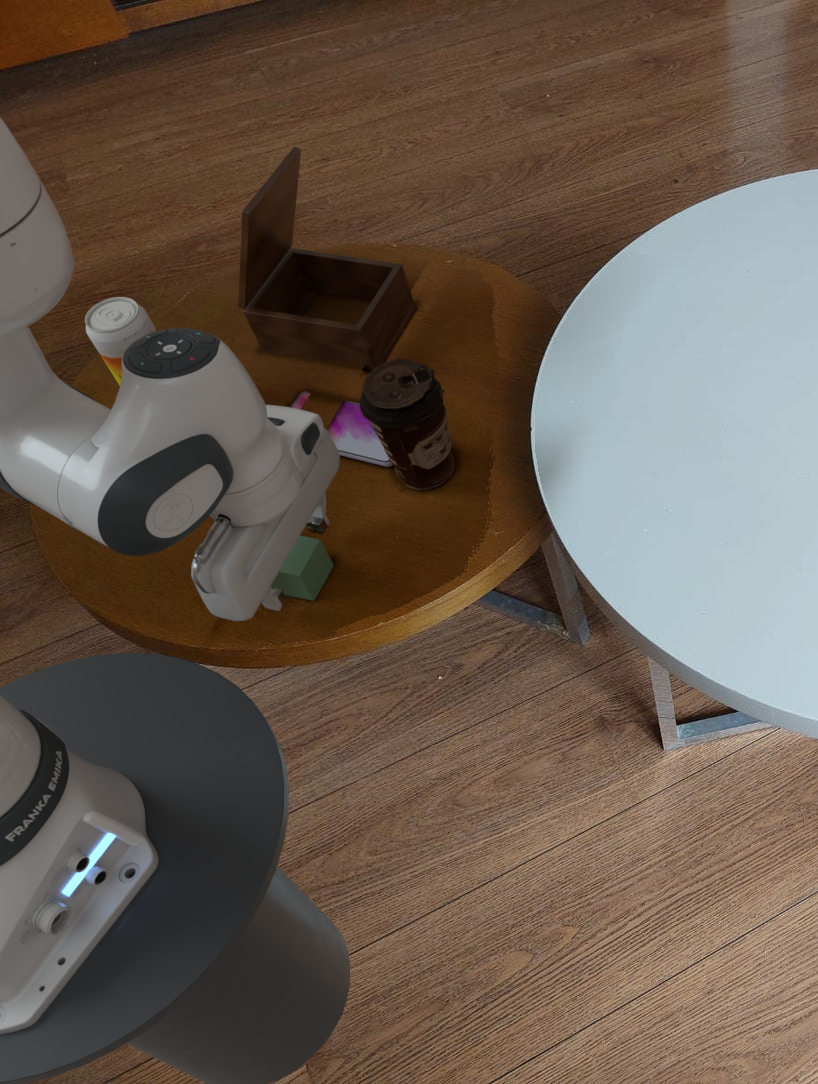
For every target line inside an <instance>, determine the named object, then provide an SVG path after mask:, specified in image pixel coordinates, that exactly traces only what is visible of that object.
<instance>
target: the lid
mask: <svg viewBox="0 0 818 1084" xmlns="http://www.w3.org/2000/svg"><path fill="white" fill-rule="evenodd" d="M301 155H302V149H301V148H299V147H298V146H295V145H294V146H293V147H292V148H291V150H290V151H289V152H288V153H287V154H286V156H285V157H284V158H283V160H281V162H280V163H279V165H277V167H276V168H275V169H274V171H273V172H272V173H271V175H270V176H269V177H268V178H267V179H266V180H265V182H264V183H263V184H262V185H261V187H260V188H259V189H258V190H257V192H256V193H255V195H254V196H253V197H252V198H251V199H250V201H249V202H248V203H247V204H246V205H245V207H244V208H243V209H242V210H241V225H240V227H241V228H240V229H241V230H240V251H239V253H240V254H239V273H238V274H239V277H238V297H237V298H238V301H237V302H238V303H237V307H238V308H240V309H242V310H243V311H244V310H245V309H246V307H247V306H248V305H249V303H250V302H251V300H252V299H253V298H254V296H255V295H256V294H257V292H258V291H259V290H260V288H261V287H262V286H263V284H264V283H265V282H266V280H267V279H268V278H269V276H270V275H271V274H272V272H273V271H274V269H275V268H276V267H277V265H278V264H279V263H280V261H281V260H282V259H283V257H284V256H285V255H286V253H287V252H288V251H289V249H290V248H293V239H294V229H295V219H296V207H297V197H298V187H299V177H300V167H301V166H300V165H301Z"/></svg>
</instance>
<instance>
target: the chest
mask: <svg viewBox="0 0 818 1084" xmlns="http://www.w3.org/2000/svg"><path fill="white" fill-rule="evenodd" d="M317 294H324V295H335V296H344V297H354V298H363V299H372V300H371V302H370V303H369V305H368V306H367V308H366V309H365V311H364V312H363V314H362V316H361V317H360V319H359V320H358V321H357V324H354V323H349V322H342V321H336V320H329V319H323V318H316V317H311V316H308V315H309V313H310V311H311V308H312V306H313V303H314V301H315V299H316V296H317ZM416 309H417V306H416V303H415V299H414V296H413V294H412V291H411V288H410V284H409V282H408V278H407V275H406V272H405V269H404V266H403V264H402V263H397V262H396V263H395V262H388V261H382V260H374V259H370V258H369V259H368V258H362V257H360V258H359V257H356V256H354V257H353V256H349V255H341V254H335V253H329V252H328V253H327V252H322V251H315V250H308V249H301V248H296V247H291V248H290V249H289V251H288V252H287V253H286V255H285V256H284V257H283V259H282V260H281V261H280V263H279V264H278V265H277V267H276V268H275V269H274V271H273V272H272V274H271V275H270V276H269V278H268V279H267V280H266V282H265V283H264V284H263V286H262V287H261V288H260V290H259V291H258V292H257V294H256V295H255V296H254V298H253V299H252V300H251V302H250V303H249V305H248V306H247V307H246V309H245V310H244V309H243V314H244V317H245V319H246V320H247V322H248V325H249V327H250V329H251V331H252V333H253V334H254V335H253V336H254V337H255V339H256V341H257V343H258V345H259V347H260V349H261V351H262V352H263V353H271V354H280V355H287V356H296V357H304V358H305V357H306V358H314V359H321V360H322V359H323V360H329V361H339V362H347V363H355V364H364V366H363V368H362V370H361V372H365V373H369V374H370V373H371V371H373V370H374V369H375V368H376V367H378V366H380V365H382V364H384V363H385V361H386V359H387V358H388V356H389V354H390V352H391V351H392V349H393V348H394V346H395V344H396V343H397V341H398V340H399V337H400V336H401V334H402V333H403V331H404V330H405V328H406V326H407V325H408V323H409V321H410V320H411V318H412V317H413V315H414V313H415V311H416Z"/></svg>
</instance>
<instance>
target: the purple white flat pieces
mask: <svg viewBox="0 0 818 1084" xmlns="http://www.w3.org/2000/svg"><path fill="white" fill-rule="evenodd" d="M310 395H311V392H308V391H304V392H301V393H300V394H299V395H298V397H296V400H294V401H293V403H292V405H291V406H290V408H296V409H300V410H302V408H303V406H304V405H305V403H306V401H307V400H308V399H309V397H310ZM325 429H326V430H327V431H328V432H329V434H330V435H331V437H332V439H333V441H334V443H335V445H336V447H337V449H338V451H339V454H340V457H345V458H348V459H352V460H356V461H362V462H364V463H365V462H366V463H369V464H373V465H378V466H380V467H385V468H386V467H387V468H390V467H392V466H394V465H393V464H392V463H391V462H390V460H389V458H388V455H387V454H386V452H385V450H384V447H383V445H382V444H381V442H380V440H379V438H378V436H377V434H376V433H375V429H374V427H373V426H372V424H371V423H370V421H369V420H368V419H366V418H365V417H364V416H363V414H362V412H361V410H360V403H358V402H352V401H348V400H343V401H342V403H341V405H339V408H338V410H337V411H336V413H335V414H334V415H333V418H332V419H331V421H330V422H329V424H328V426H327V427H326V428H325Z"/></svg>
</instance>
